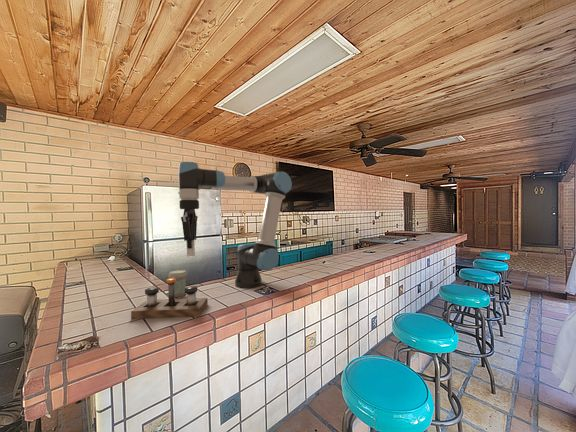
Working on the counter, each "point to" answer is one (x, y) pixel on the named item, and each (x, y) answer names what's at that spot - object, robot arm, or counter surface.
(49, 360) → the counter surface
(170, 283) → the dark piece
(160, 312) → the mount board
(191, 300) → the knob
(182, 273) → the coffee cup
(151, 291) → the knob
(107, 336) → the counter surface
